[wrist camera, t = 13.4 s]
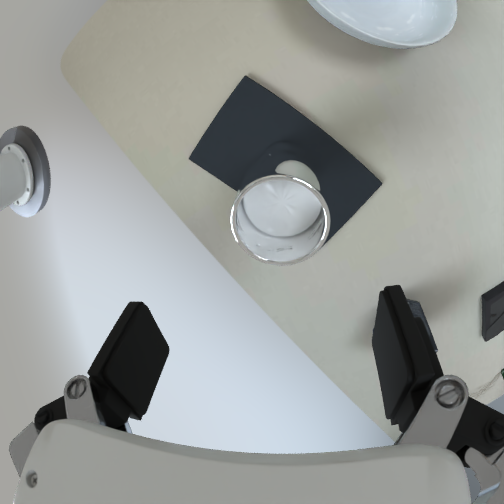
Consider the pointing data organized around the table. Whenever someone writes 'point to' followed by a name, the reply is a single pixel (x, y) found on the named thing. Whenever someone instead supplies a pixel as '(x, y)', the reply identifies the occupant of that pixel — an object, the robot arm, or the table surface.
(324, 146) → the placemat
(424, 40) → the cereal bowl
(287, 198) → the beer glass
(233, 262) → the table surface
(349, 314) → the table surface
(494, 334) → the picture frame
